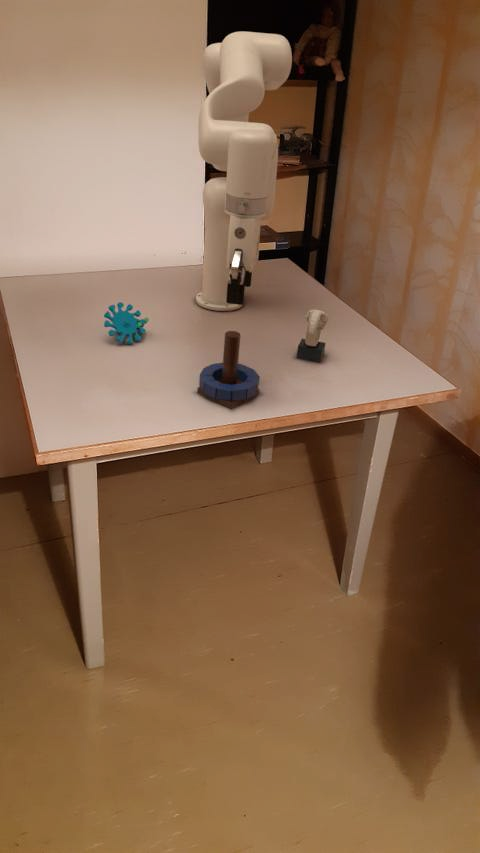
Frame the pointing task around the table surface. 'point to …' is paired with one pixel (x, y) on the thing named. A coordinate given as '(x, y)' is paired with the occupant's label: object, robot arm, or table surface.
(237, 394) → the ring
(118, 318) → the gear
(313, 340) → the ram head statue
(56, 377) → the table surface
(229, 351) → the stand
